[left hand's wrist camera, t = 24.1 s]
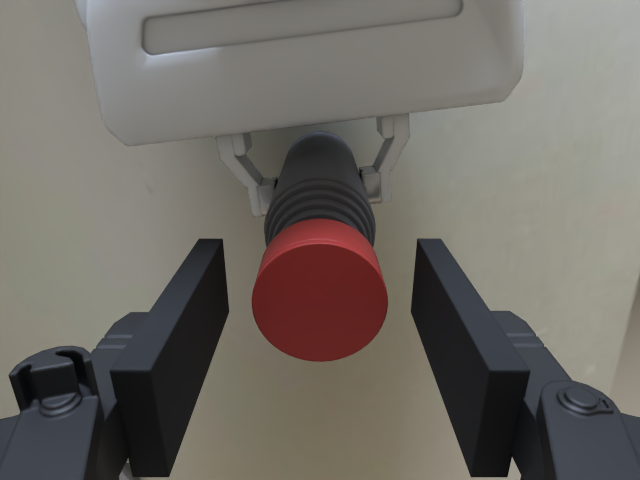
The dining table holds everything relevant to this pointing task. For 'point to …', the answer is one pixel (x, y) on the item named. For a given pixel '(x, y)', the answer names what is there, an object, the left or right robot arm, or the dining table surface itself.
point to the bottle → (319, 188)
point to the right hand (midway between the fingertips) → (322, 206)
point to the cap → (319, 291)
